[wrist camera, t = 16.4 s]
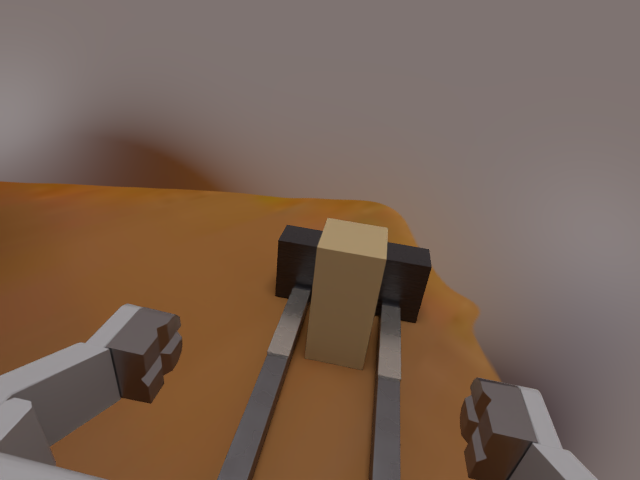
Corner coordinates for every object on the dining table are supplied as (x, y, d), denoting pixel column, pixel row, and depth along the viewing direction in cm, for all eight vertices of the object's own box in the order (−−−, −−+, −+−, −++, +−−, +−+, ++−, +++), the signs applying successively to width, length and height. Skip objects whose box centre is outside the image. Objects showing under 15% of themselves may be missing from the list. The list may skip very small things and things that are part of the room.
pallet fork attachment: (158, 551, 19) (142, 480, 16) (283, 278, 39) (287, 224, 36) (433, 625, 17) (473, 563, 14) (414, 302, 38) (429, 249, 35)
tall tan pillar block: (304, 358, 30) (317, 247, 25) (315, 320, 34) (327, 218, 29) (362, 370, 30) (386, 259, 25) (366, 330, 33) (388, 228, 29)
